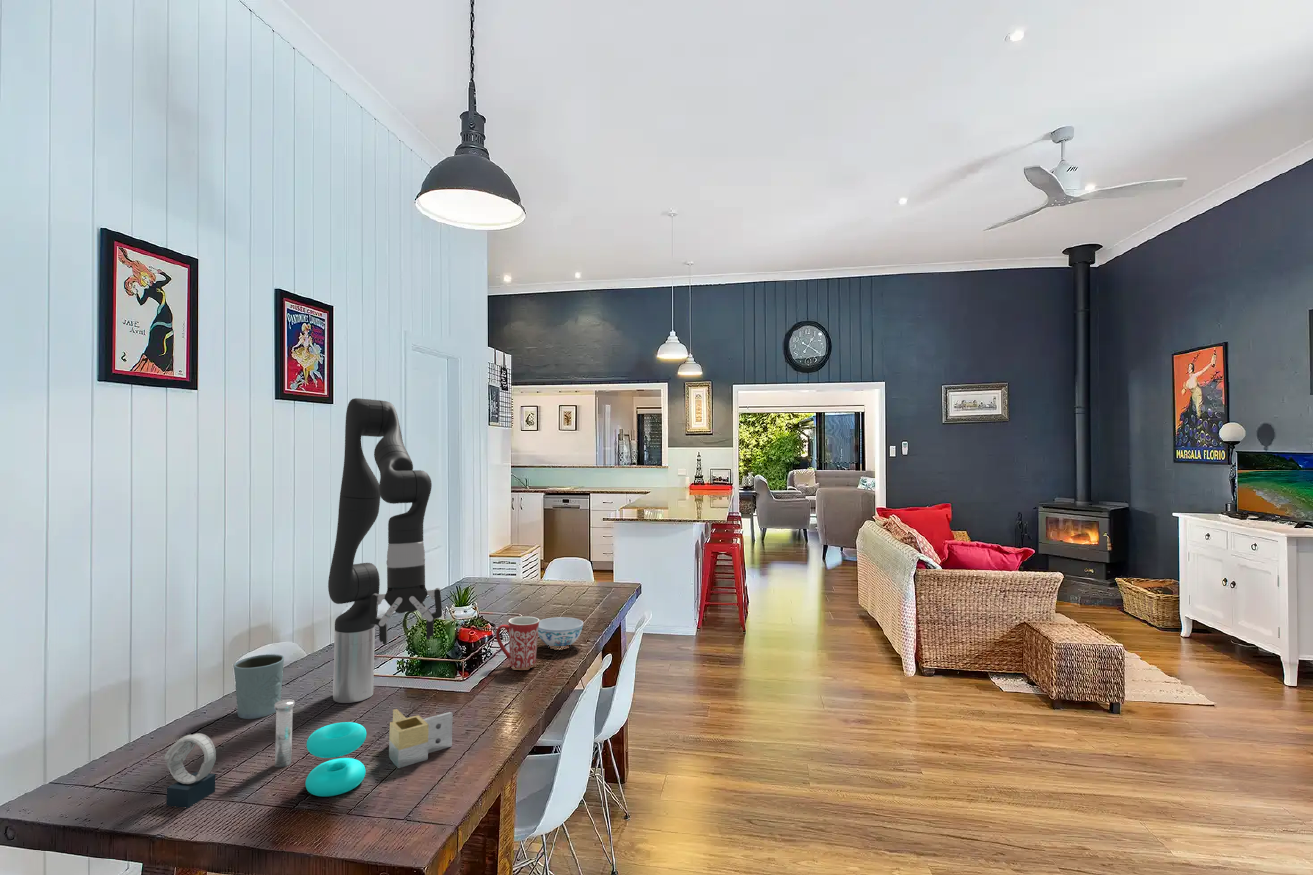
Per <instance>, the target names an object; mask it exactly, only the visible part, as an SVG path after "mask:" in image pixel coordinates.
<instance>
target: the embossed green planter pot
mask: <svg viewBox="0 0 1313 875" xmlns="http://www.w3.org/2000/svg"><path fill="white" fill-rule="evenodd" d="M284 664H285V657H284V655H281V654H276V653H273V654H272V653H271V654H270V653H269V654H268V653H267V654H259V655H254V656H249V657H246V658H245V657H244V658H241V659H240V660H238V661H236V662H235V663H234V665H233V673H234V674H233V675H234V682H235V696H236V697H235V698H236V705H237V706H236V707H237V708H236V710H237V711H236V712H237V713H236V714H237V716H238V718H241V719H245V720H246V719H247V720H253V719H254V720H255V719H259V718H261V719H262V718H263V717H264V718H265V717H268V716H270V715H273V714H275V713H276V710H275V703H276V702H278V701H281V698H282V689H283V688H282V685H283V677H284V676H283V675H284V673H283V671H284V666H285V665H284Z"/></svg>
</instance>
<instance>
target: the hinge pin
mask: <svg viewBox="0 0 1313 875" xmlns="http://www.w3.org/2000/svg"><path fill="white" fill-rule="evenodd" d="M295 702H296V701H295V700H294V699H292V698H290V699H282V700H281V701H278V702H276V703H275V710H276V712H275V713H276V714H275V748H274V749H275V751H274V767H275V768H285V767H288V766H290V765H291V763H292V752H293V751H292V750H293V749H292V748H293V747H292V745H293V744H292V742H293V717H294V716H293V714H294V713H293V709H294V707H295V705H296V704H295Z"/></svg>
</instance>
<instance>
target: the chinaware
mask: <svg viewBox="0 0 1313 875" xmlns="http://www.w3.org/2000/svg"><path fill="white" fill-rule="evenodd" d="M539 620H540V621H539V626H538V638H540V641H542V642H543V644H545V645H546V646H548V645H549V646H566V645H570V646H571V645H572V644H574V643H575V642H576V641H577V640H578V639H579V637H580V635H581V633H582V631H583V627H584V621H583V620H581V619H579V618H576V617H570V616H569V617H565V616H557V617H548V618H543V619H539ZM549 646H548V647H549Z"/></svg>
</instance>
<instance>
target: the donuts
mask: <svg viewBox="0 0 1313 875" xmlns="http://www.w3.org/2000/svg"><path fill="white" fill-rule="evenodd" d="M367 736H368V735H367V730H366V728H365V727H364V726H363V725H362V724H360V723H357V722H352V721H351V722H350V721H342V722H340V721H339V722H336V723H331V724H327V725H325V726H322V727H320V728H317V729H316V730H314V731H313V732H312V733H311V734H310V735H309V737H308V738H307V740H306V744H305V745H306V749H307V752H308V753H310V754H311V755H312V756H314V757H317V758H321V759H322V758H323V759H329V760H327V761H324V762H322V763H320V764H318V765H317V766H316V767H314V768H313V769H312V770H311V771H310V772H309V773H308V774H307V777H306V779H305V783H304V784H305V788H306V790H307V792H308V793H309V794H311V795H313V796H316V797H334V796H339V795H342V794H345V793H348V792H350V791H352V790H353V789H355V788H357V787H358V786H359V785H360V784H361V783H362V782H363V780H364V779H365V777H366V773H367V772H366V767H365V765H364V763H362V762H361V761H360V760H359V759H356V758H352V757H342V756H346V755H349V754H351V753H354V752H355V751H356V750H358V749H359V748H360V747H361V746H362V745H363V744H364V743H365V741H366V739H367ZM339 757H340V758H339Z"/></svg>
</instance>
